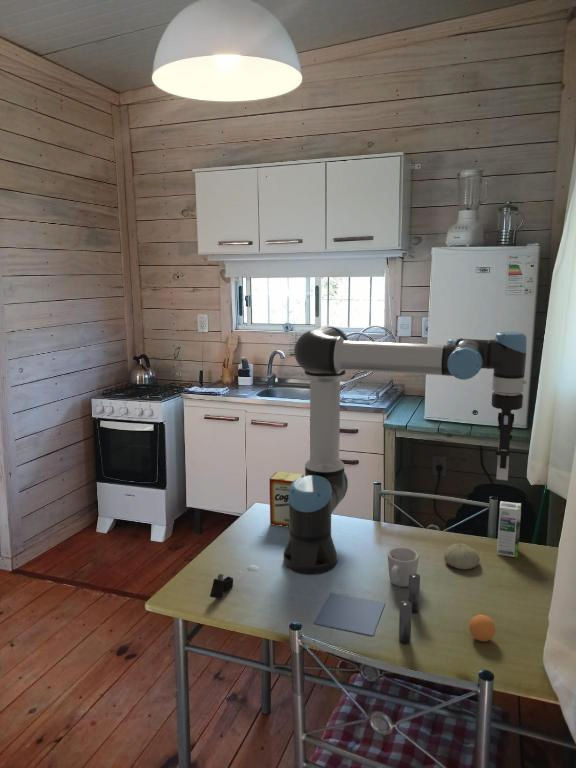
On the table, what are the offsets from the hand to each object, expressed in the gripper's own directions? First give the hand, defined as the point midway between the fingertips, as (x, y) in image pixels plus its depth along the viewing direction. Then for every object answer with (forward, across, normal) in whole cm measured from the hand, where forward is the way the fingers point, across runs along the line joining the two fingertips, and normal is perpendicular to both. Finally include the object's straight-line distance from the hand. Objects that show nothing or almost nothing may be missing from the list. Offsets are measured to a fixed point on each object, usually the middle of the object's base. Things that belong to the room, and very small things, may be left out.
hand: (502, 470), depth 159 cm
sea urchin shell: (+28, 0, +9) cm, 30 cm away
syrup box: (+28, +11, -3) cm, 30 cm away
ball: (+25, -34, +2) cm, 43 cm away
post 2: (+28, -28, +18) cm, 44 cm away
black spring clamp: (+28, -37, +65) cm, 80 cm away
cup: (+28, -17, +23) cm, 40 cm away
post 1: (+28, -41, +18) cm, 53 cm away
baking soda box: (+28, +9, +64) cm, 71 cm away
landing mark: (+28, -34, +32) cm, 55 cm away
